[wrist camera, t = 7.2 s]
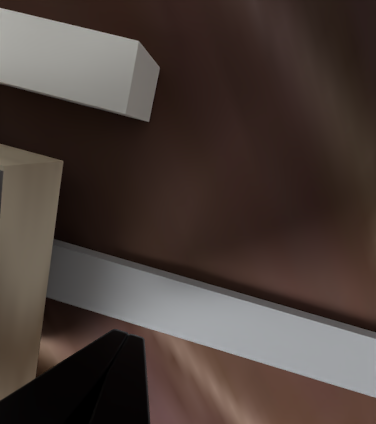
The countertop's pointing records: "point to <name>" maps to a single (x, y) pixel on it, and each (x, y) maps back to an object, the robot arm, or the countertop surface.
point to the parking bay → (151, 277)
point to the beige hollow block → (24, 258)
